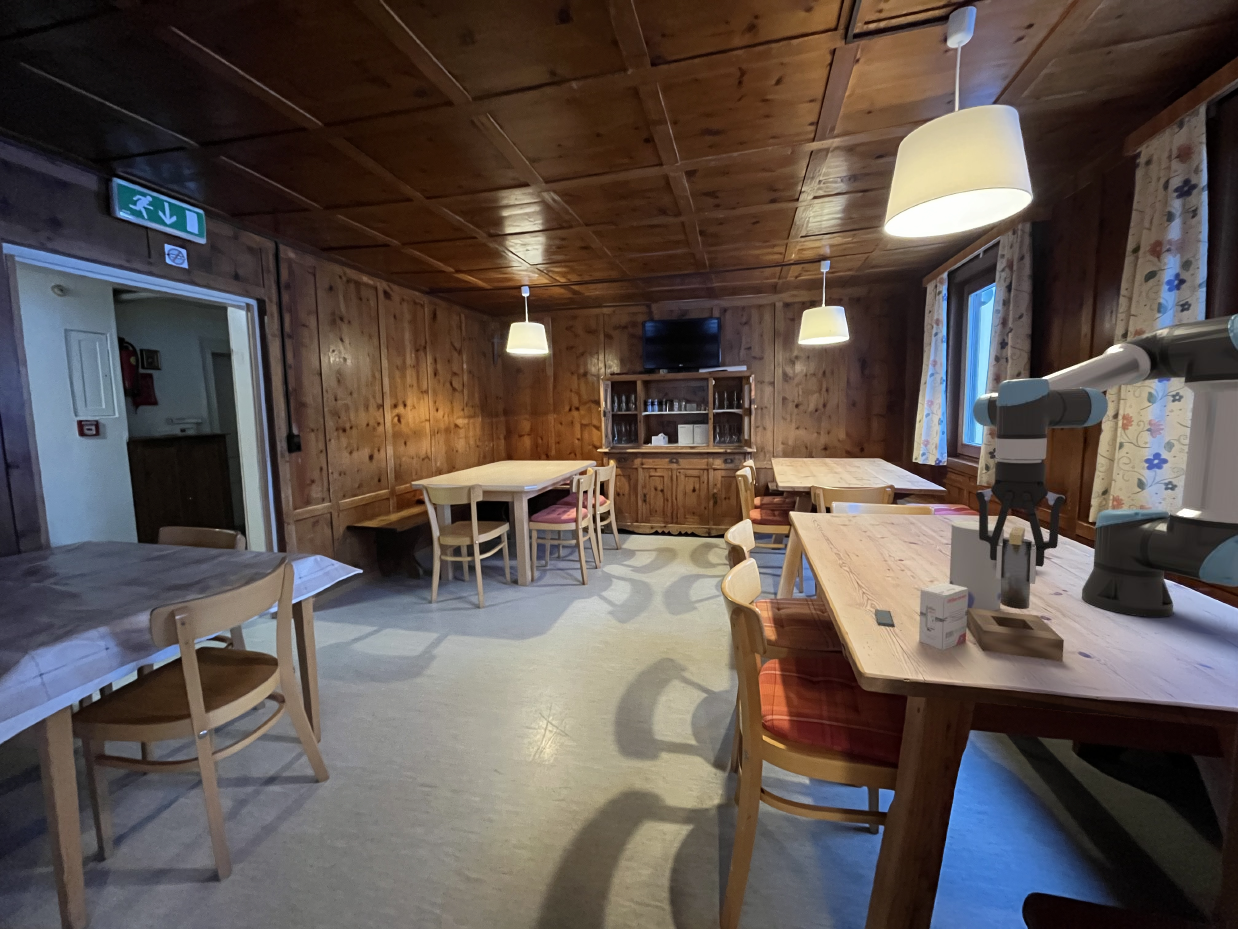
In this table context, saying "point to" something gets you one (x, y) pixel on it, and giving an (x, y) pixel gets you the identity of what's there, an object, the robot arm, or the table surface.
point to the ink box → (943, 615)
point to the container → (974, 566)
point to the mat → (884, 618)
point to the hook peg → (1016, 570)
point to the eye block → (1014, 634)
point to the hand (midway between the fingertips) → (1015, 579)
